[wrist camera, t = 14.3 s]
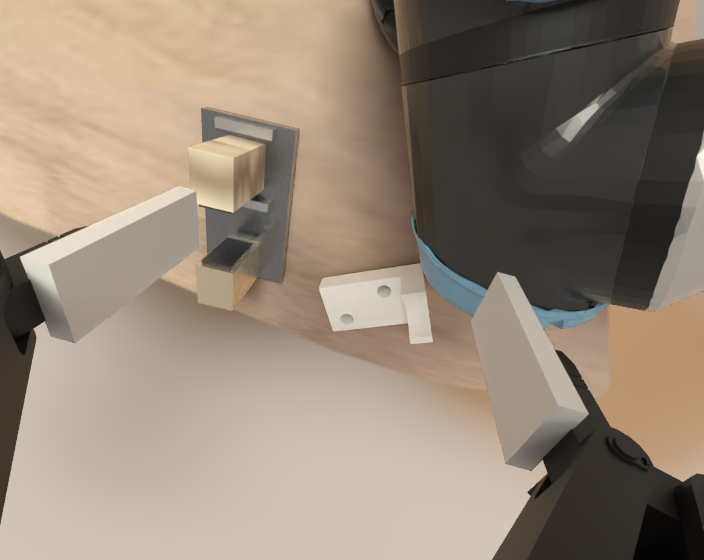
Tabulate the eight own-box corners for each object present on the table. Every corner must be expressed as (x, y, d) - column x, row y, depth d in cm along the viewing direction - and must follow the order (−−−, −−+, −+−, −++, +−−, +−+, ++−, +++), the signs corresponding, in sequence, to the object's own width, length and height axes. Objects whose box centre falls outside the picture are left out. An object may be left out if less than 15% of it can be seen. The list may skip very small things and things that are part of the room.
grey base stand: (208, 107, 35) (150, 113, 27) (299, 128, 35) (269, 142, 27) (213, 260, 45) (172, 298, 37) (283, 276, 45) (258, 319, 37)
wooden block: (263, 192, 37) (233, 216, 30) (229, 184, 37) (191, 206, 30) (266, 143, 34) (233, 157, 28) (229, 134, 34) (188, 146, 28)
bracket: (421, 259, 41) (425, 291, 35) (427, 304, 45) (432, 342, 38) (324, 274, 44) (311, 306, 38) (337, 315, 47) (327, 352, 41)
